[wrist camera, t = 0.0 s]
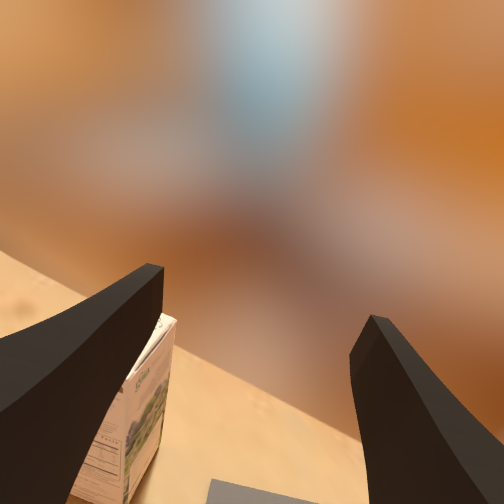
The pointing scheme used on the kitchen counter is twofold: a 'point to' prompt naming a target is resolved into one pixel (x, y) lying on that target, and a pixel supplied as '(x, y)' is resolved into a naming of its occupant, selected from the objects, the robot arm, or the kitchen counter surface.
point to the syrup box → (130, 425)
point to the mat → (245, 495)
